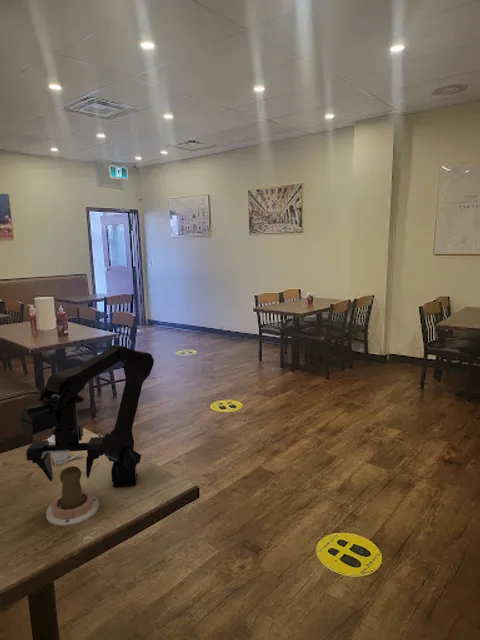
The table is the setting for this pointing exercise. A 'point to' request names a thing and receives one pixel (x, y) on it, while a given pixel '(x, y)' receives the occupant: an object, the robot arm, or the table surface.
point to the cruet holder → (72, 511)
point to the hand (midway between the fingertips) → (69, 478)
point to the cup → (59, 453)
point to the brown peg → (71, 488)
